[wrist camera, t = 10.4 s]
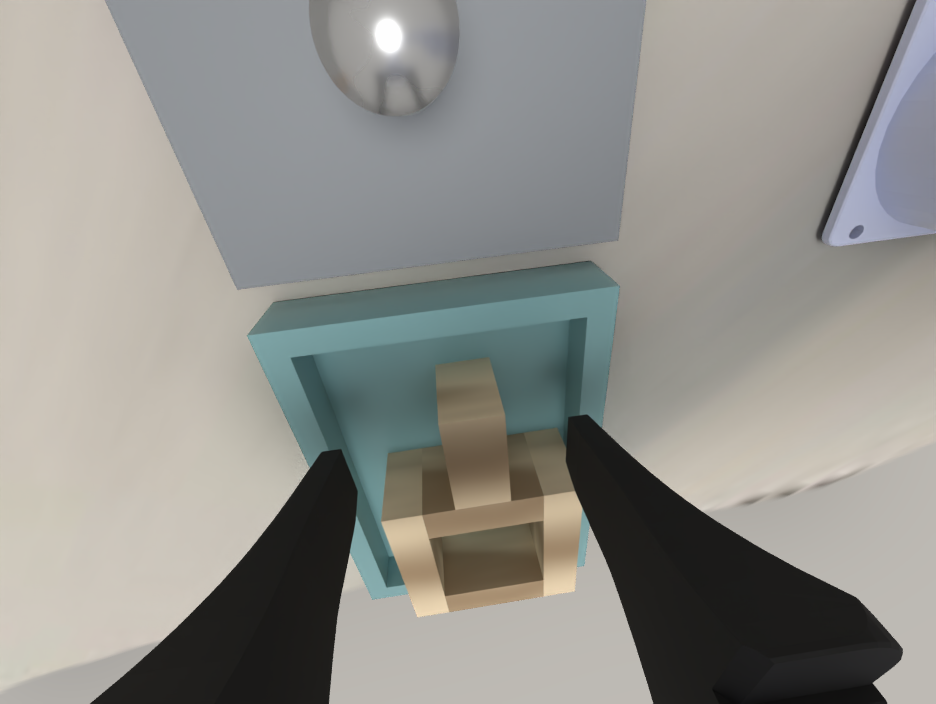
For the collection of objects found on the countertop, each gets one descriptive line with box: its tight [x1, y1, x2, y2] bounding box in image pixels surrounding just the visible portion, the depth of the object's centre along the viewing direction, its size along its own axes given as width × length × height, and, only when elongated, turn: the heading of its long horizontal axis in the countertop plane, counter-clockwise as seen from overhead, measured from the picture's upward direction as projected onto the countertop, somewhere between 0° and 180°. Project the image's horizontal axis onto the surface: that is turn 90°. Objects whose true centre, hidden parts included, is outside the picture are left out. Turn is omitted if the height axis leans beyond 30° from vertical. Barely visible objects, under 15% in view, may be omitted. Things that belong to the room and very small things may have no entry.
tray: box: [247, 261, 620, 600], centre depth 18 cm, size 12×17×2 cm
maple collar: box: [381, 357, 582, 617], centre depth 17 cm, size 12×8×4 cm, turn 6°
